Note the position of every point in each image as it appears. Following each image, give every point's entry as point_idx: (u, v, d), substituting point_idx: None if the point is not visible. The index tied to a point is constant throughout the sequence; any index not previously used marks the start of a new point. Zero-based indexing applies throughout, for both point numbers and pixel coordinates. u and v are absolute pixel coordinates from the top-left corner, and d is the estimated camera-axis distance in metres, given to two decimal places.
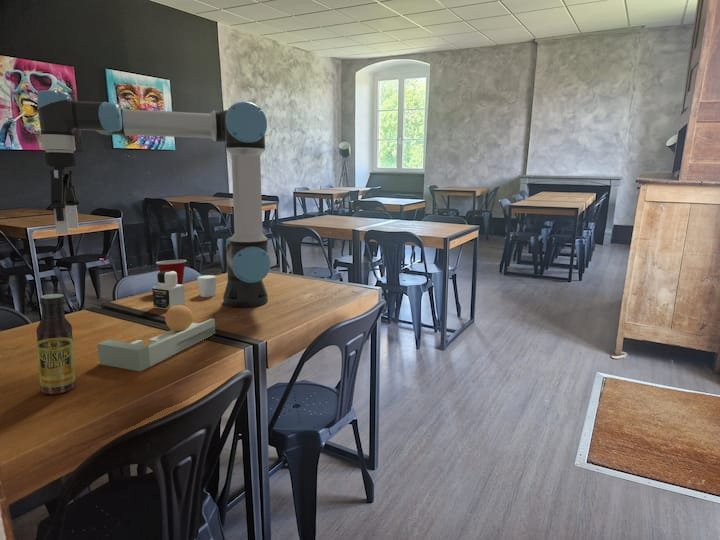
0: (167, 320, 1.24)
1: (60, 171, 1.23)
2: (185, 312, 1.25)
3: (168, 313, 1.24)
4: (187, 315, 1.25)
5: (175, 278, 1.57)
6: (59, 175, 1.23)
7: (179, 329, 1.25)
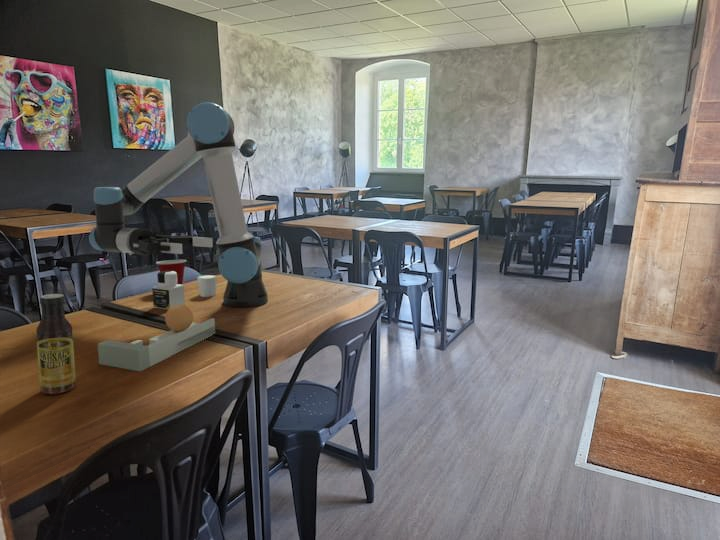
0: (167, 320, 1.24)
1: (133, 241, 1.33)
2: (185, 312, 1.25)
3: (168, 313, 1.24)
4: (187, 315, 1.25)
5: (175, 278, 1.57)
6: (136, 242, 1.32)
7: (179, 329, 1.25)
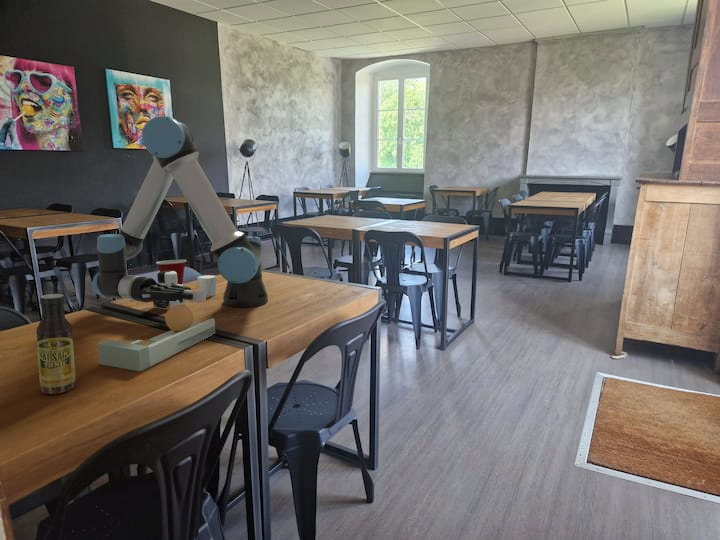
0: (167, 320, 1.24)
1: (143, 292, 1.35)
2: (185, 312, 1.25)
3: (168, 313, 1.24)
4: (187, 315, 1.25)
5: (175, 278, 1.57)
6: (147, 293, 1.35)
7: (179, 329, 1.25)
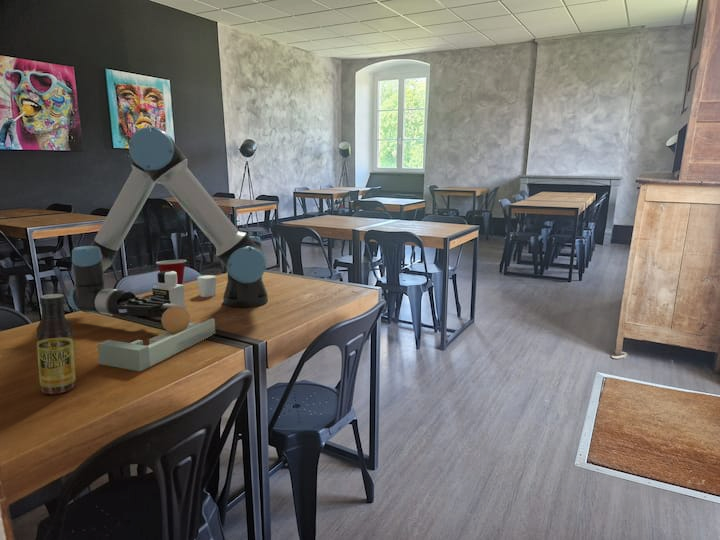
0: (164, 326, 1.23)
1: (119, 307, 1.28)
2: (180, 316, 1.23)
3: (163, 319, 1.22)
4: (182, 319, 1.23)
5: (175, 278, 1.57)
6: (123, 308, 1.29)
7: (178, 332, 1.25)
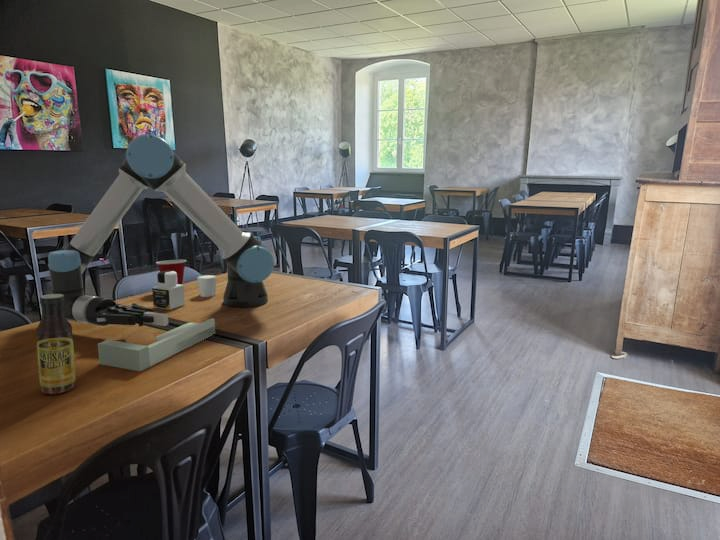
0: None
1: (97, 316, 1.21)
2: None
3: None
4: None
5: (175, 278, 1.57)
6: (102, 317, 1.21)
7: (141, 335, 1.12)
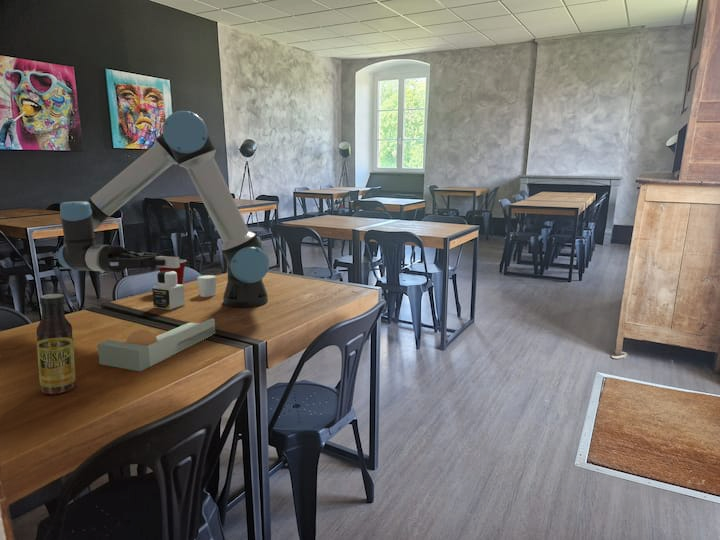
0: None
1: (110, 260, 1.24)
2: None
3: None
4: None
5: (175, 278, 1.57)
6: (115, 261, 1.24)
7: (141, 335, 1.12)
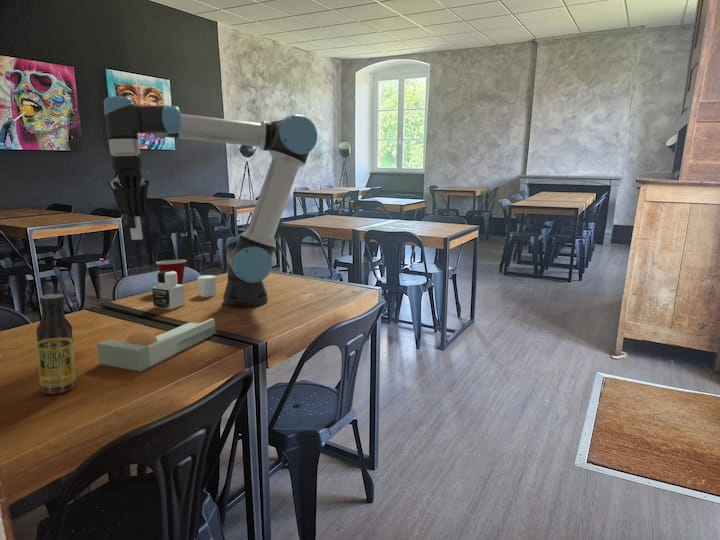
0: None
1: (114, 183, 1.28)
2: None
3: None
4: None
5: (175, 278, 1.57)
6: (115, 187, 1.29)
7: (141, 335, 1.12)
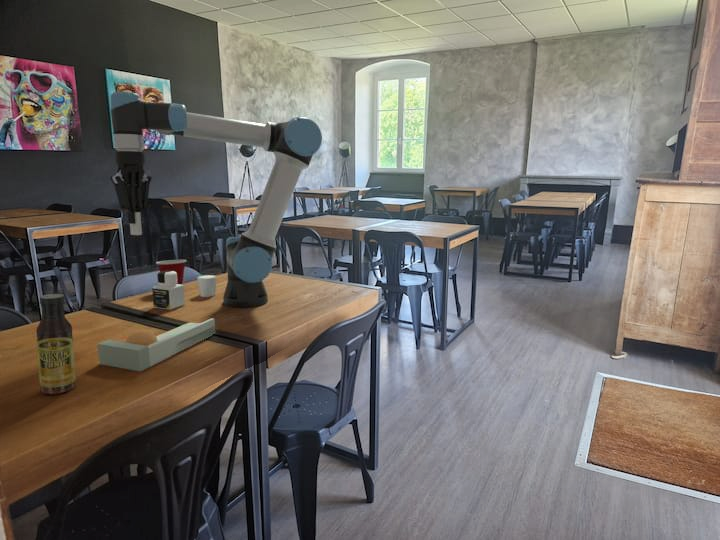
0: None
1: (117, 178, 1.28)
2: None
3: None
4: None
5: (175, 278, 1.57)
6: (117, 182, 1.29)
7: (141, 335, 1.12)
